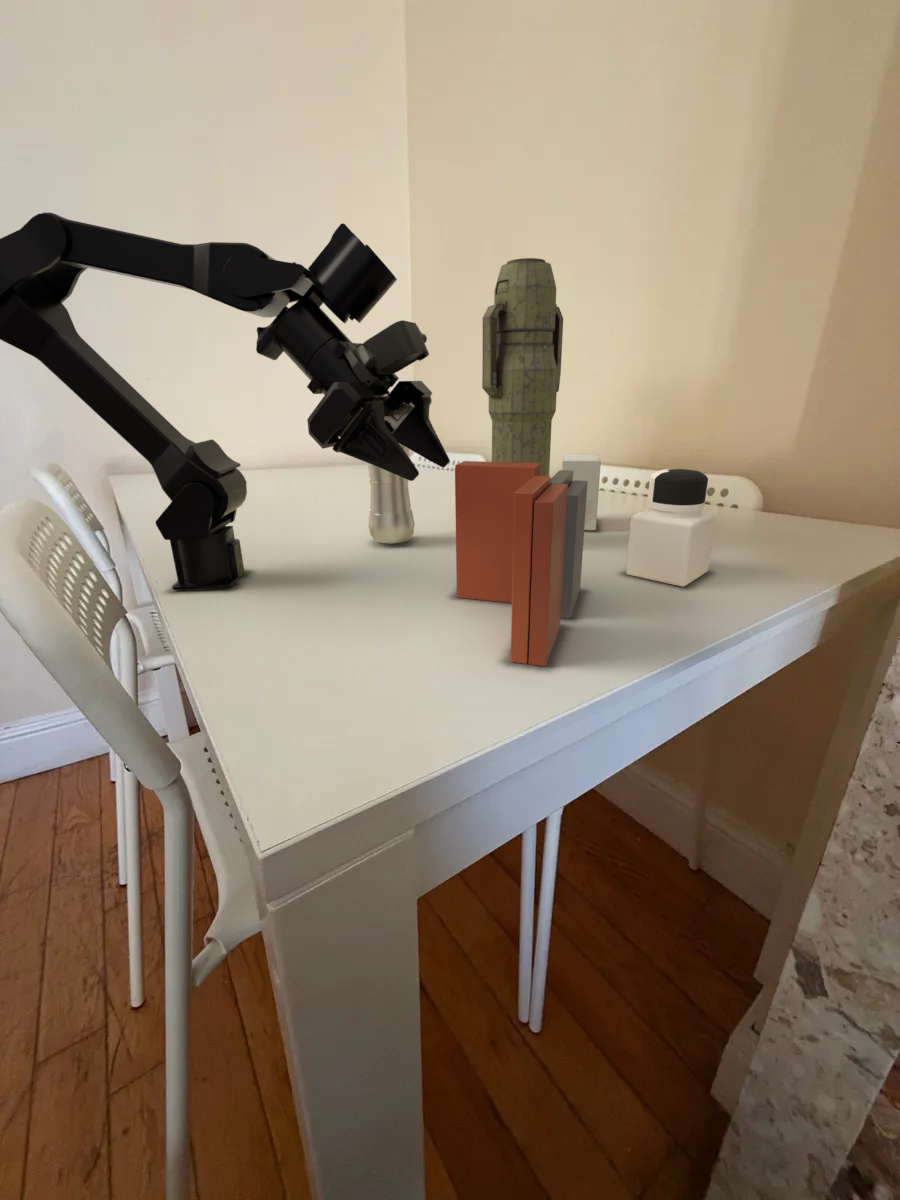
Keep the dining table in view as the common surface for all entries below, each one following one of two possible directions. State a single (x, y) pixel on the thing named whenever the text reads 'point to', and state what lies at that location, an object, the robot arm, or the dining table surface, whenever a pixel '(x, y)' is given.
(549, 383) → the olive green military canister
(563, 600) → the grey books
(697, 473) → the medicine bottle
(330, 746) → the dining table surface
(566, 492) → the rust books
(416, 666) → the dining table surface
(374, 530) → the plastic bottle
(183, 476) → the robot arm
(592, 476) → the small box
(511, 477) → the rust book
